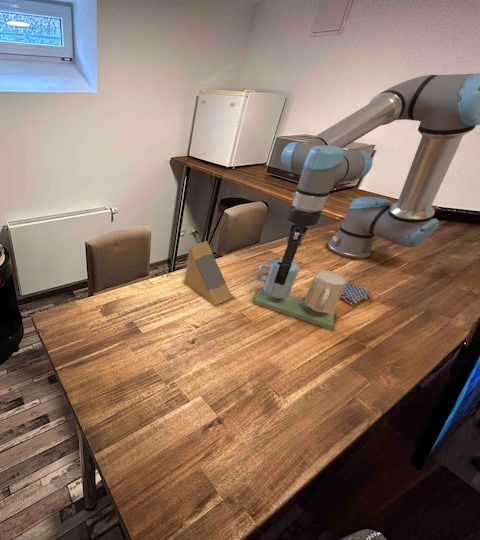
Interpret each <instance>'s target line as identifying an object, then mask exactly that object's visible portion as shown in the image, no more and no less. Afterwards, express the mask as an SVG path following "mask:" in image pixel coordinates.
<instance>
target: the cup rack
mask: <svg viewBox="0 0 480 540" xmlns="http://www.w3.org/2000/svg"><path fill="white" fill-rule="evenodd" d="M263 287H264V286H259V288H258V291H257V293H256V294H255V297H254V299H253V304H254V305H255V304H256V305H257V306H262V307H264V308H267V309H270V310H273V311H275V312H279V313H282V314H283V315H287V316H289V317H293V318H295V319H299V320H301V321H304V322H307V323H310V324H313V325H316V326H319V327H322V328H324V329H328V330H331V331H332V330H333V328H334V323H335V312H336V309H335V308H334V310H333V311H331V312H328V313H326V312H319V311H316V310H314V309H312V308H310V307H308V306H307V305H306V303H305V302H304V300H305V299H303V298H300V297H296V296H293V295H290V294H289V296H288V297H286V298H276V297H273V296H271V295H268V294H267V293H266V292H265V291H264V289H263Z"/></svg>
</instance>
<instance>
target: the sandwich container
mask: <svg viewBox="0 0 480 540" xmlns="http://www.w3.org/2000/svg"><path fill="white" fill-rule="evenodd" d="M217 262H218V261H217V260H216V258H215V256H214V253H213V251H212V249H211V245H210V244H209V241H208V240H206V241H202V242H200V243H196V244H193V245H192V244H191V245H189V247H188V254H187V260H186V269H185V276H184V284H186V285H187V286H188V287H189V288H191V289H192V290H193V291H195V293H197V294H199V295H200V296H202V297H203V298H205V299H206V300H207V301H208V302H210V303H212V304H213V305H214V306H217V305H219V304H222V303H224V302H226V301H228V300H230V299H232V298H233V295H232V293H231V291H230V289H229V286H228V284H227V282H226V280H225V278H224V276H223V274H222V272H221V270H220V269H221V268H220V267H219V265H218V263H217Z"/></svg>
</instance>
